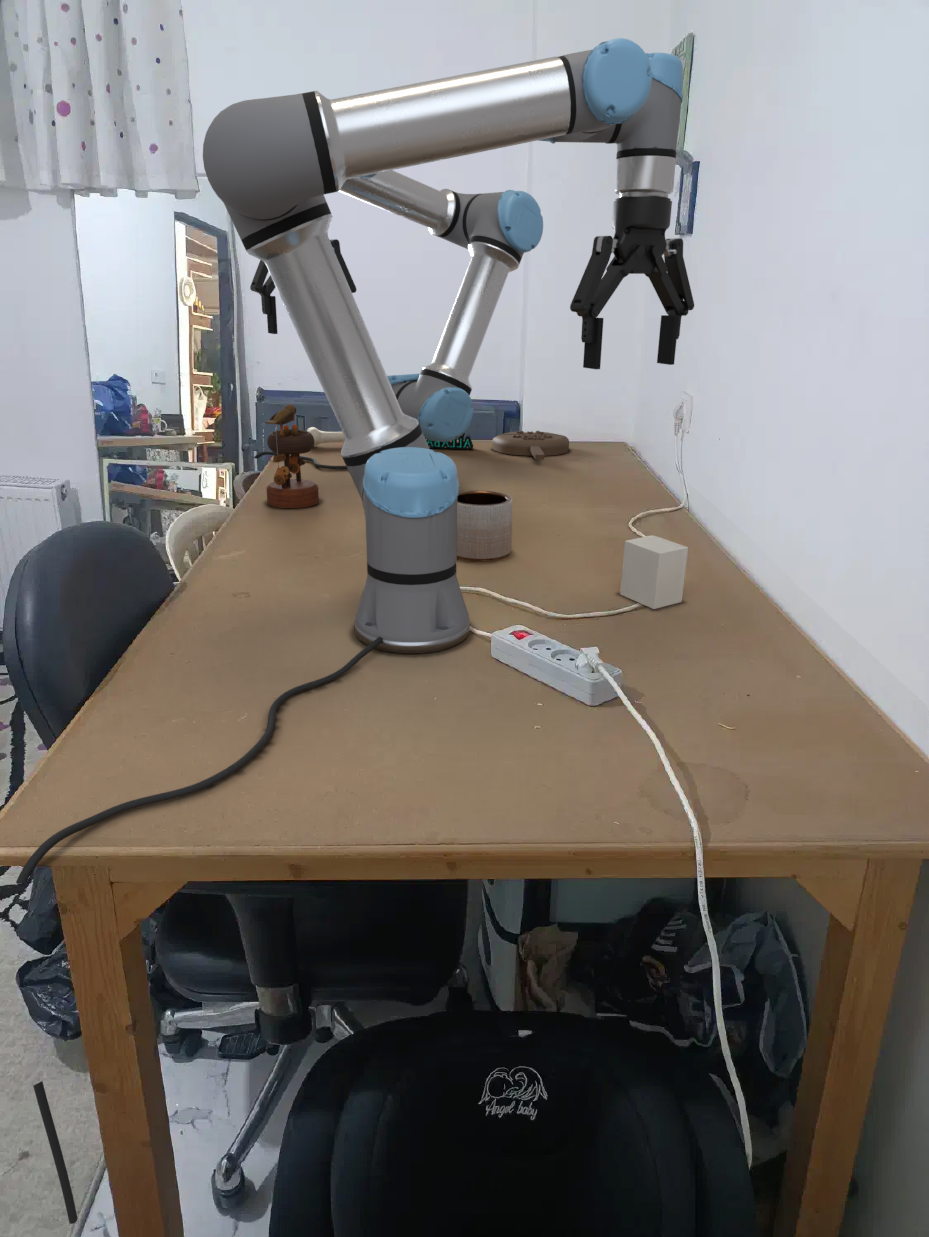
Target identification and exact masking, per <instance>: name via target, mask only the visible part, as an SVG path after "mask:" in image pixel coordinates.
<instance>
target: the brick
mask: <svg viewBox="0 0 929 1237" xmlns="http://www.w3.org/2000/svg"><path fill="white" fill-rule="evenodd" d="M623 549H624V550H623V558H622V570H621V578H620V590H619V591H620V592H619V595H620V596H623V597H624V598H626V599H629V600H632V601H634V602H637V603H639V604H640V605H643V606H645V607H647V608H649V609H652V610H656V609H660V608H664V607H668V606H672V605H675V604H679V603H680V604H681V603H682V602H683V594H684V587H685V578H686V571H687V562H688V561H687V560H688V553H689V547H688V546H686V545H682V544H680V543H677V542H674V541H672V540H668V539H665V538H663V537H660V536H657V535H654V534H652V535H646V536H642V537H641V536H640V537H637V538H632V539H627V540H624V545H623Z"/></svg>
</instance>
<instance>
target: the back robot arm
mask: <svg viewBox="0 0 929 1237" xmlns="http://www.w3.org/2000/svg"><path fill="white" fill-rule="evenodd" d="M339 193H341V194H344V195H345V196H346V195H347V196H349V197H352V198H354V199H356V200H359V201H361V202H364V203H366V204H368V205H371V206H374V207H377V208H379V209H381V210H384V211H386V212H389V213H390V214H394V215H396V216H399V217H401V218H403V219H406V220H408V221H411V222H413V223H416V224H419V225H421V226H423V227H427V229H428V231H429V233H430V234H431V235H433V236H435V237H437V238H440V239H443V240H445V241H448V242H450V243H451V244H454V245H457V246H459V247H462V248H464V249H466V250H468V252H469V255H470V260H469V262H468V266H467V268H466V271H465V273H464V276H463V278H462V281H461V284H460V286H459V289H458V292H457V294H456V297H455V300H454V303H453V305H452V308H451V309H450V310H451V311H450V313H449V315H448V319H447V321H446V324H445V326H444V330H443V332H442V335H441V337H440V340H439V343H438V346H437V348H436V351H435V353H434V356H433V359H432V361H431V363H430V364H428V365H425V366H423V367H422V368H421V371H420V372H419V373H408V374H394V375H392V374H391V375H387V377H388V380H389V382H390V384H391V387H392V389H393V391H394V394H395V396H396V398H397V401H398V403H399V406H400V408H401V410H402V412H403V413H404V414H405V415H408V416H410V417H413V418H415V419H417V420H418V423H419V425H420V427H421V430H422V432H423V434H424V437H425V438H426V440H427V439H428V440H431V441H440V442H449V441H450V442H452V440H455V439H457V440H458V438H459V437H460V436H461V435H462V434H463V433H464V432H465V433H466V431H467V430H468V429H469V427H470V426H471V423H472V420H473V417H474V407H473V400H472V398H471V394H472V390H473V387H472V384H471V381H470V376H471V373H472V371H473V368H474V365H475V362H476V360H477V357H478V355H479V352H480V350H481V347H482V345H483V342H484V339H485V336H486V334H487V331H488V328H489V326H490V323H491V321H492V318H493V315H494V312H495V310H496V307H497V305H498V302H499V299H500V297H501V294H502V292H503V289H504V286H505V283H506V281H507V279H508V275H509V274H510V273H512V272H514V271H515V270H517V269H519V267H520V264H521V261H522V259H523V256H524V254H525V253H528V252H531V251H532V250H534V249H536V248H537V247H538V245H539V244H540V243H541V240H542V237H543V233H544V217H543V215H542V214H541V213H542V212H541V211H542V210H541V207H540V205H539V203H538V202H537V200H536V199H535V198H534V197H533V196H532V195H531V194H530V193H529V192H526V191H523V190H514V189H507V190H505V191H498V192H485V193H462V192H456V191H454V190H451V189H449V188H442V189H440V190H438V189H436V188H433V187H431V186H429V185H427V184H425V183H422V182H420V181H418V180H415V179H413V178H411V177H409V176H407V175H404V174H402V173H399V172H397V171H395V170H390V171H386V172H381V173H376V174H371V175H366V176H361V177H356V178H351V179H347V180H346V181H345V182H344V184H343V185H342V187H341V189H340V190H339ZM329 240H330V242H331V245H332V247H333V250H334V252H335V254H336V257H337V259H338V261H339V264H340V266H341V268H342V271H343V273H344V276H345V278H346V280H347V283H348V285H349V287H350V290H351V292H352V294H355V293H356V292H357V287H356V284H355V282H354V280H353V277H352V275H351V273H350V270H349V268H348V266H347V263H346V261H345V258H344V257H343V255H342V252H341V244H340V241H339V239H335V238H333V239H329ZM268 273H269V270H268V268H267V266H266V264H265V263H264V262H263V261H262V260H260V259H259V263H258V265H257V268H256V270H255V273H254V276H253V278H252V281H251V284H250V287H249V289H250V291H251V292H254V293H257V294H259V295H260V299H261V312H262V314H263V315H266V322H267V334H272V335H278V320H277V319H278V316H277V302H276V301H277V299H276V295H271V294H272V293H273V292H274V291H275V289H276V286H275V284H274V281H273V279H272V277H271V275H270V274H269V276H268ZM267 276H268V278H267ZM266 278H267V279H266ZM266 455H267V456H276V455H277V453H274V452H273V451H271V450H264V451H261V452H258V453H257V454H256V455H255V456H254V457H253V459H259V458H260V457H262V456H266ZM278 455H280V454H278ZM290 457H291V456H290ZM300 458H301V459H302V460H304V461H308V462H312V463H313V464H314V466H315V467H317V468H319V469H325V470H348V469H347V467H346V465H329V464H321V463H318V460H317V459H315V458H314V457H310V456H303V455H300Z"/></svg>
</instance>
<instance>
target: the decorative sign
mask: <svg viewBox="0 0 929 1237" xmlns="http://www.w3.org/2000/svg"><path fill="white" fill-rule="evenodd" d="M425 439H426V438H425ZM426 441H427V444H428V446H429V449H438V450H439V449H442V450H443V449H445V448H446V449H447V450H449V449H450V450H455V449H456V450H467V449H468V450H473V449H474V443H473V441H472V438H471V435H470V434H467V435H466V431H465V432H464V433H463V434H462V435H461V436H460V437H459V438H457V439H455V440H452V441H449V442H440V441H431V440H428V439H426Z"/></svg>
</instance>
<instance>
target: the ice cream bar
mask: <svg viewBox="0 0 929 1237" xmlns="http://www.w3.org/2000/svg"><path fill="white" fill-rule="evenodd" d="M491 443H492V444H491V450H493V451H495V452H498V453H500V454H504V455H511V456H512V455H513V456H532V457H533V458H534V459H535V460H538V461H539V460H540V461H541V460H545V456H558V455H563V454H566V453H568V452H569V450H570V439H569V438H568V437H567V436H566V435H564V434H563V435H562V434H558V433H552V432H548V431H547V432H546V431H540V430H536V431H535V432H534V431H524V430H519V431H509V432H505V433H500V434H498V435H497V434H496V435H495V436H494V437H493V438H492V441H491Z"/></svg>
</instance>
